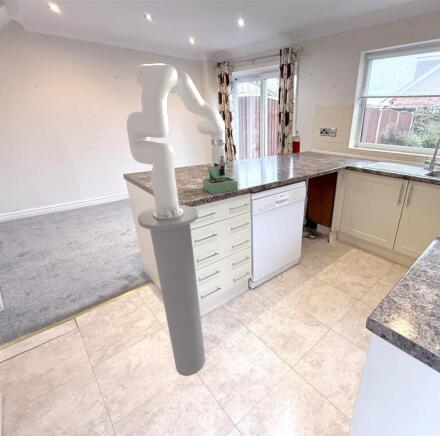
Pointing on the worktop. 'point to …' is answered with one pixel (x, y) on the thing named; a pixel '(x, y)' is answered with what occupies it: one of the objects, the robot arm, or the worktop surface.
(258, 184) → the worktop surface
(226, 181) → the tub
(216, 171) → the food container
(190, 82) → the robot arm
